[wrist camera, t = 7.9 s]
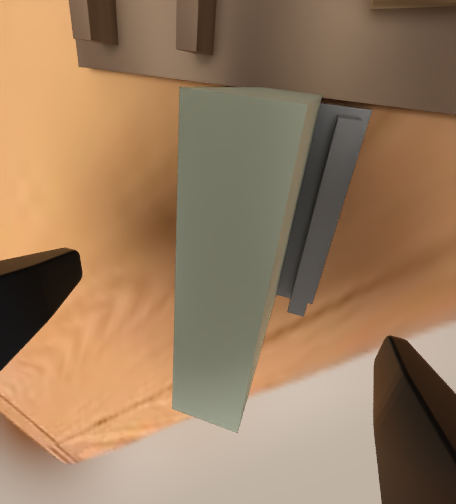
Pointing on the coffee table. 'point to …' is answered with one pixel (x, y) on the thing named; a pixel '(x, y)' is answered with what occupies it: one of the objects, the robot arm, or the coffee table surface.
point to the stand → (321, 200)
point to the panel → (232, 235)
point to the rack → (279, 46)
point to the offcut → (410, 3)
